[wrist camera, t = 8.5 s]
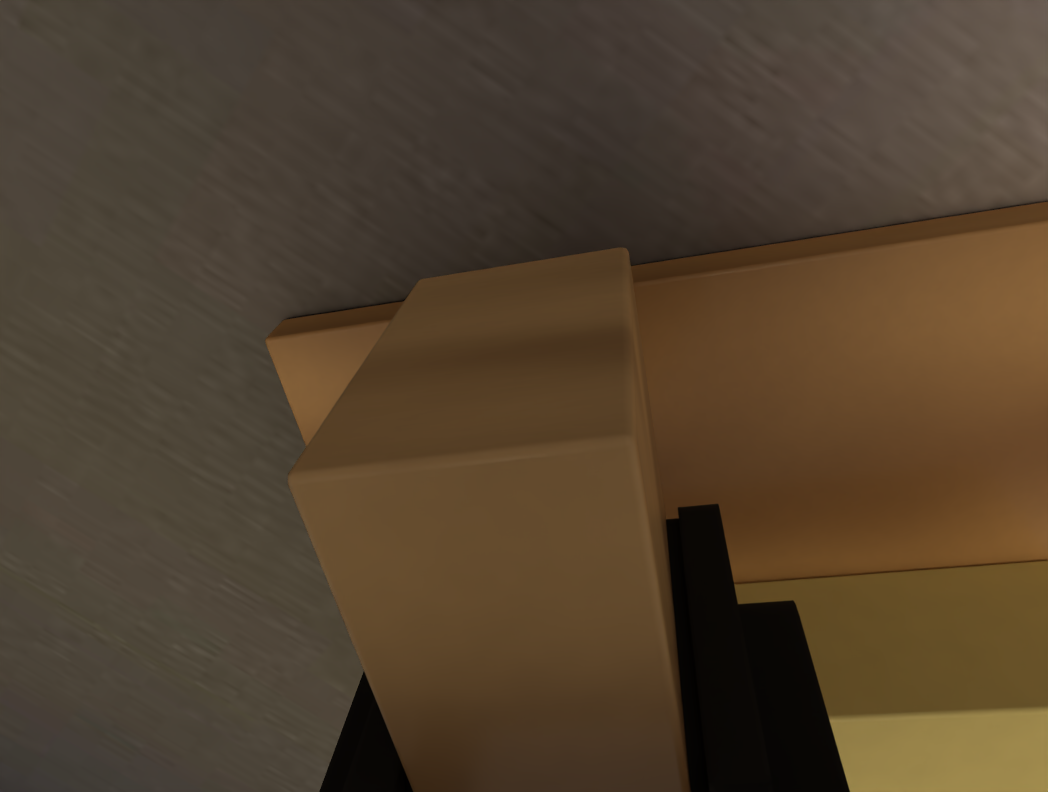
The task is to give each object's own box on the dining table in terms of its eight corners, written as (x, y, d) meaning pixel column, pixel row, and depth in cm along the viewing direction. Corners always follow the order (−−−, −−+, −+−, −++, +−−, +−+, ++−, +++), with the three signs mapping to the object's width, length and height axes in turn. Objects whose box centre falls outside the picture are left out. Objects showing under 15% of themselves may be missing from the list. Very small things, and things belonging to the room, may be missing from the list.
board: (282, 318, 15) (262, 339, 15) (1177, 179, 12) (1219, 195, 12) (494, 885, 25) (489, 918, 24) (1040, 882, 22) (1057, 921, 21)
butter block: (648, 588, 17) (655, 727, 14) (1055, 557, 15) (1165, 705, 12) (677, 766, 19) (688, 915, 16) (1023, 755, 18) (1107, 915, 15)
